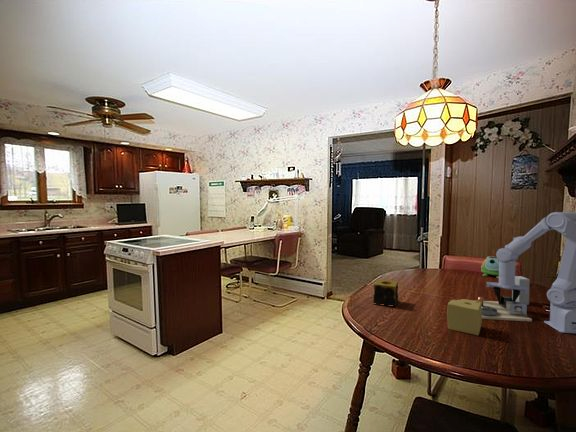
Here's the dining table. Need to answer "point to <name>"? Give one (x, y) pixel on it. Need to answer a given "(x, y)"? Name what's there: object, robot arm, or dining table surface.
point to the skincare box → (523, 295)
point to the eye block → (511, 308)
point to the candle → (385, 292)
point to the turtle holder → (491, 266)
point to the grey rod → (507, 298)
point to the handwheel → (487, 309)
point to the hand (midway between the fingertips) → (506, 305)
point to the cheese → (464, 316)
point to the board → (503, 313)
